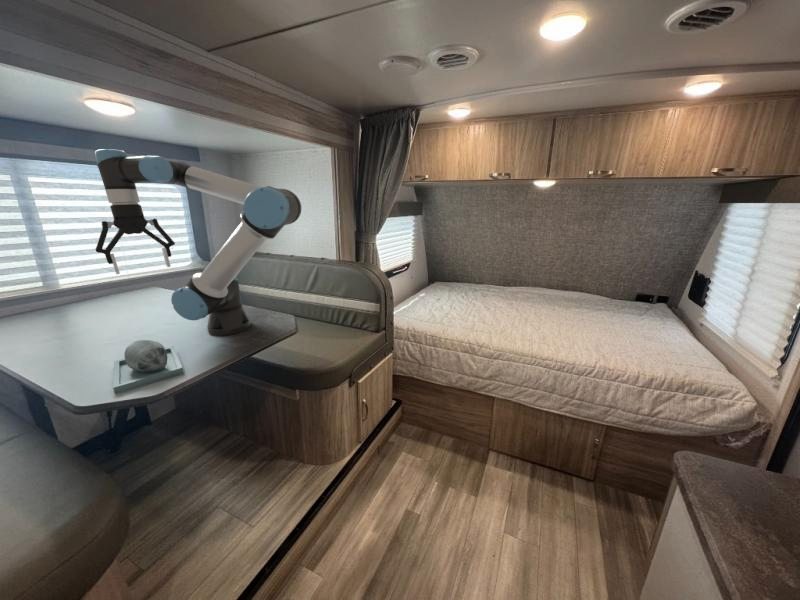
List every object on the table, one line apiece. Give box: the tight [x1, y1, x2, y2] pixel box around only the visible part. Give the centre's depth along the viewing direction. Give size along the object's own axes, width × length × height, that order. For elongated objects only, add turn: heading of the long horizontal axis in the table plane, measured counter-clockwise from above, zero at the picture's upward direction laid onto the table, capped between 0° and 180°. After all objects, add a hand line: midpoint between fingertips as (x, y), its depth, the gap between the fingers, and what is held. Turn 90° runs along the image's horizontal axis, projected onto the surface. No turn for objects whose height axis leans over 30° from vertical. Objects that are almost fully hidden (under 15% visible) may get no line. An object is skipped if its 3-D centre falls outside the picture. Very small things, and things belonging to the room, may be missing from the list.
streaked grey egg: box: [123, 339, 167, 372], centre depth 93 cm, size 14×10×10 cm
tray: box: [112, 345, 185, 395], centre depth 94 cm, size 15×19×2 cm
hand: (144, 269), depth 105 cm, fingers open, 13 cm apart
